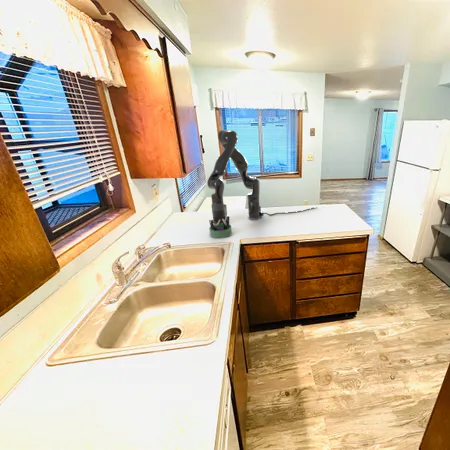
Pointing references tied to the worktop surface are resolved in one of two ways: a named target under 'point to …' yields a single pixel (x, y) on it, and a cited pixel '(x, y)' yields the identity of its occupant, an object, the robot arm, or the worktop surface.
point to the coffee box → (225, 213)
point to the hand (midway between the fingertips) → (221, 232)
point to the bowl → (221, 233)
